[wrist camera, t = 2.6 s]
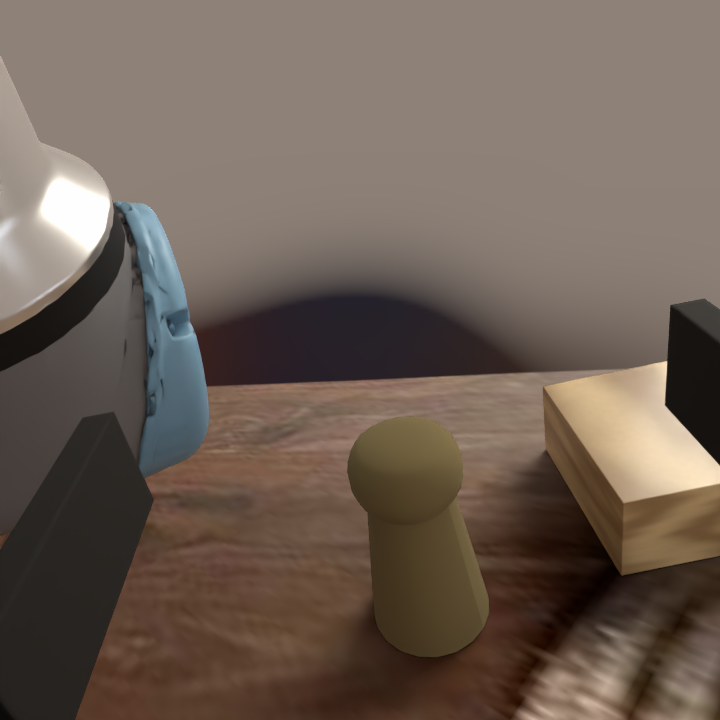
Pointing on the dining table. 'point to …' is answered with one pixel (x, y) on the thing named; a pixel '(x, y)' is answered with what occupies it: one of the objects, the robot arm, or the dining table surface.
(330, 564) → the dining table surface
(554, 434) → the riser block
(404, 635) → the olive green peg figure
